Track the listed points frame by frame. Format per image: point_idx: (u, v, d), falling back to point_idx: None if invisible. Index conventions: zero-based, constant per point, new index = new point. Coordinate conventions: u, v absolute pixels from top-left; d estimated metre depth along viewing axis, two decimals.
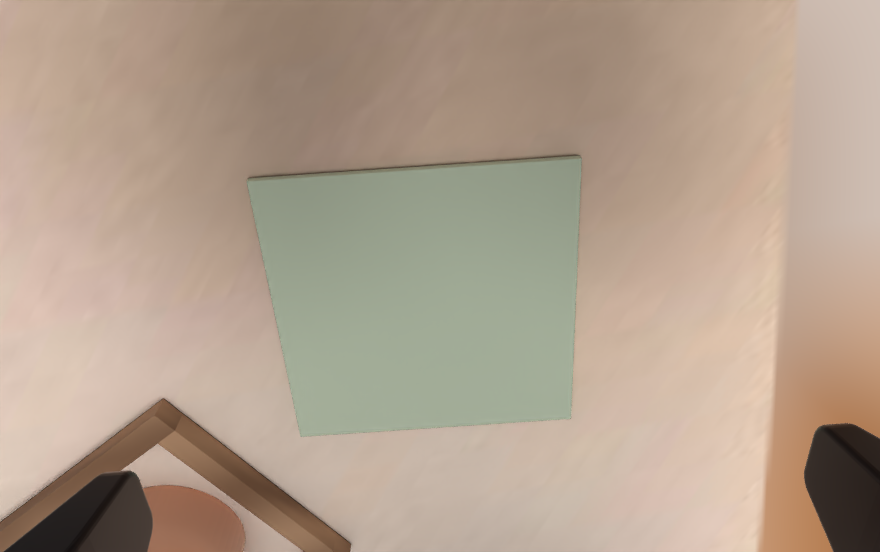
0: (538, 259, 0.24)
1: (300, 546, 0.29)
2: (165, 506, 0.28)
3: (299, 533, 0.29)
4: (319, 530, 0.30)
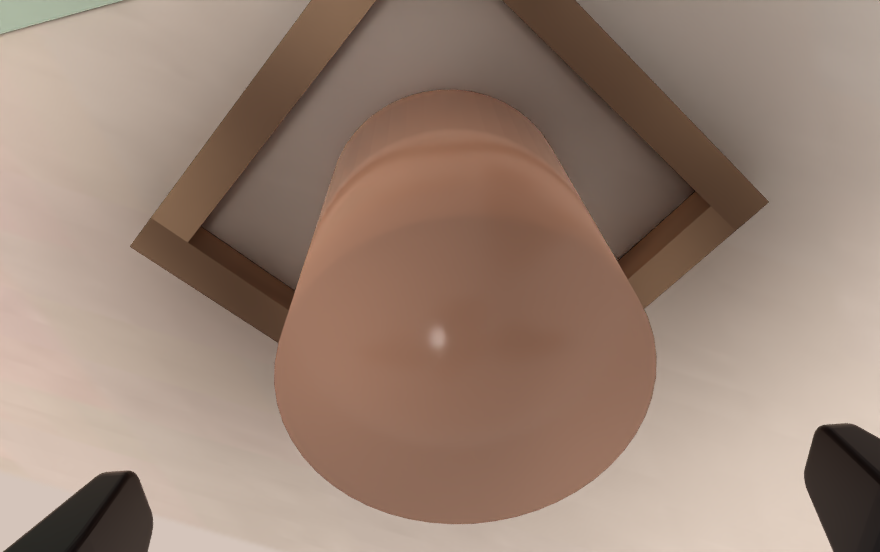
0: None
1: None
2: None
3: None
4: None
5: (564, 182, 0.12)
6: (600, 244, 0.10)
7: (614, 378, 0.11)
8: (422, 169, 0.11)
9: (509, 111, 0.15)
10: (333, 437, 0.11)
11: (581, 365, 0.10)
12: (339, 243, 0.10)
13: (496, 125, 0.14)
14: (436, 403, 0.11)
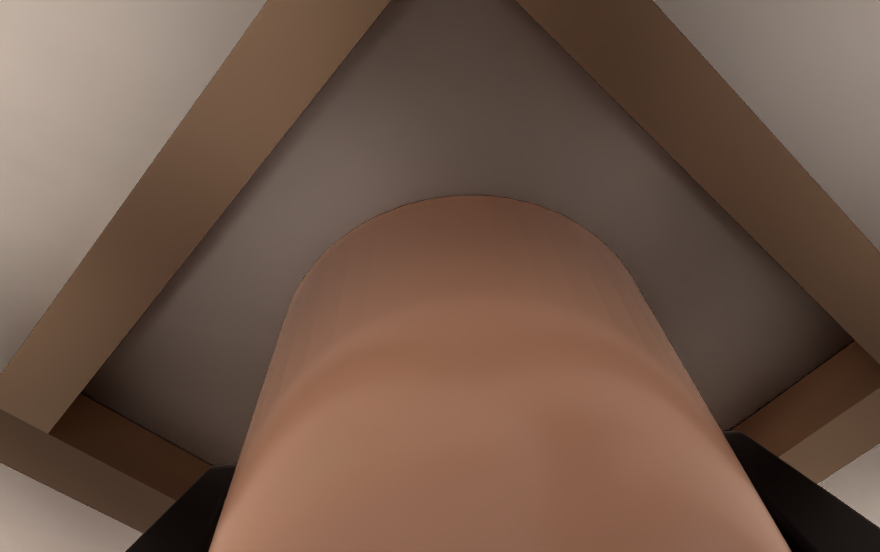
0: None
1: (367, 12, 0.07)
2: None
3: (296, 19, 0.07)
4: None
5: (714, 441, 0.06)
6: None
7: None
8: (432, 489, 0.05)
9: (574, 238, 0.09)
10: None
11: None
12: None
13: (565, 295, 0.07)
14: None
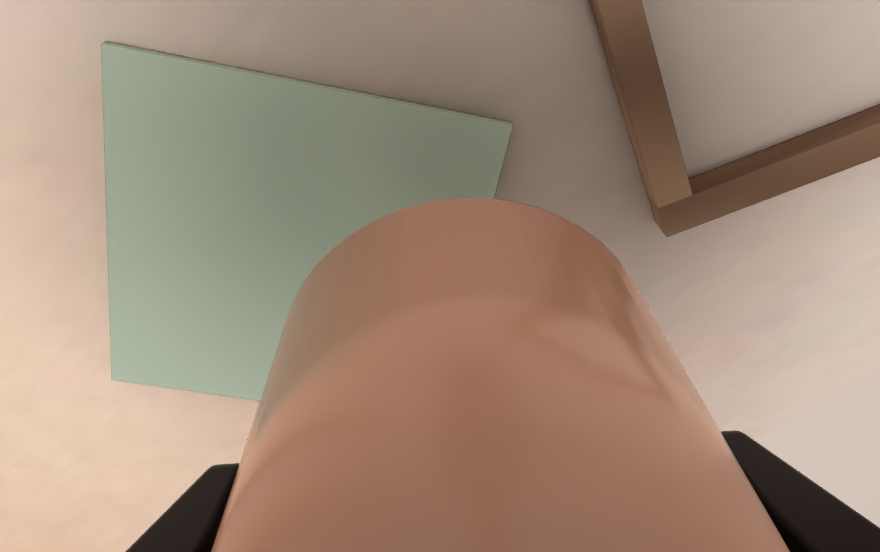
0: (154, 295, 0.21)
1: None
2: None
3: None
4: None
5: (714, 444, 0.06)
6: None
7: None
8: (434, 492, 0.05)
9: (574, 240, 0.09)
10: None
11: None
12: None
13: (566, 298, 0.07)
14: None
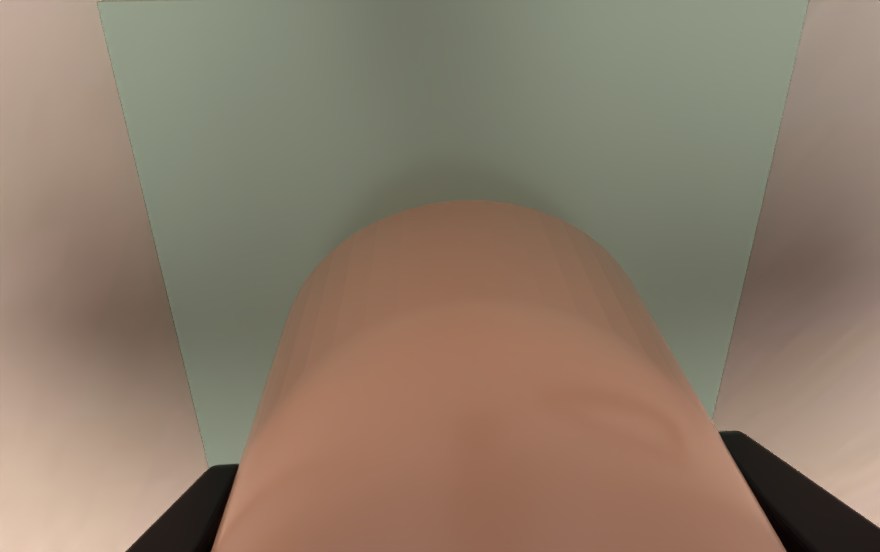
0: (257, 388, 0.14)
1: None
2: None
3: None
4: None
5: (713, 448, 0.06)
6: None
7: None
8: (433, 497, 0.05)
9: (574, 243, 0.09)
10: None
11: None
12: None
13: (565, 301, 0.07)
14: None
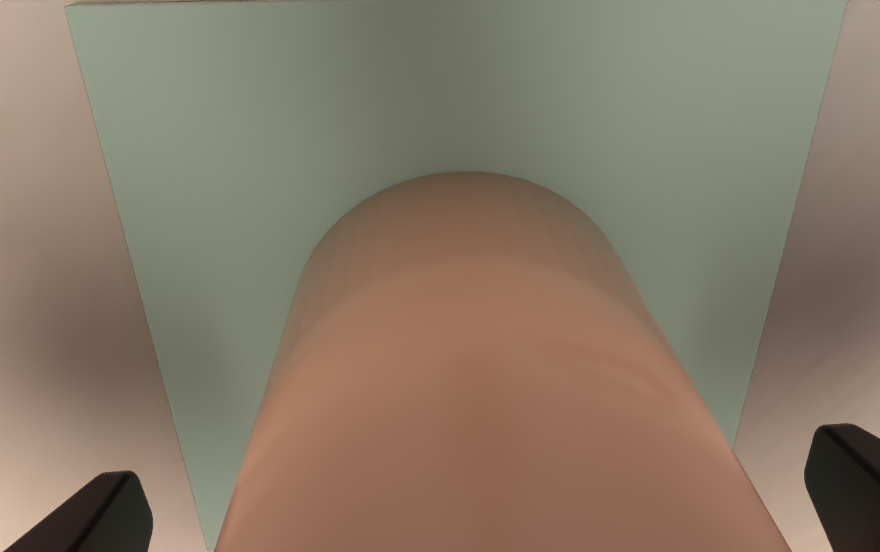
0: (246, 419, 0.13)
1: None
2: None
3: None
4: None
5: (675, 371, 0.07)
6: None
7: None
8: (435, 395, 0.06)
9: (559, 208, 0.10)
10: None
11: None
12: None
13: (549, 252, 0.08)
14: None
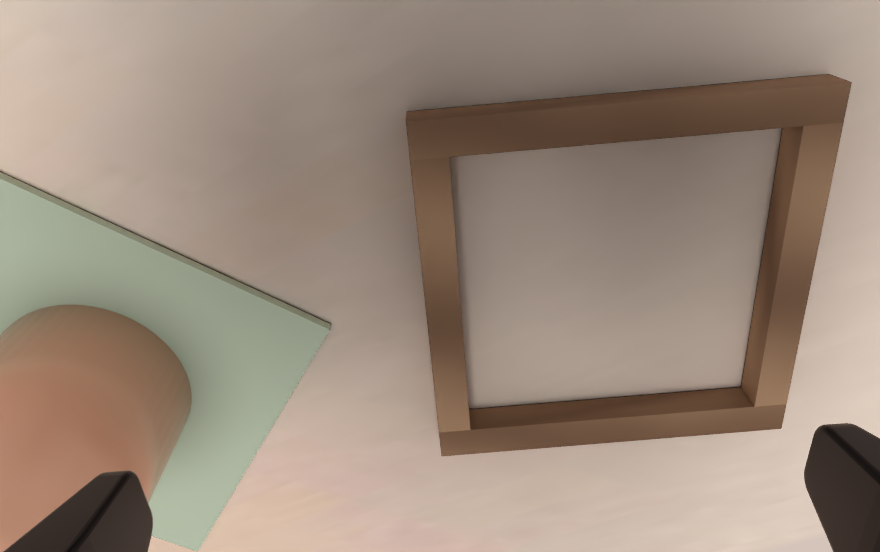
0: None
1: (448, 200, 0.18)
2: None
3: (429, 222, 0.18)
4: None
5: (127, 461, 0.17)
6: None
7: None
8: (3, 433, 0.15)
9: (158, 358, 0.20)
10: None
11: None
12: None
13: (118, 385, 0.18)
14: None
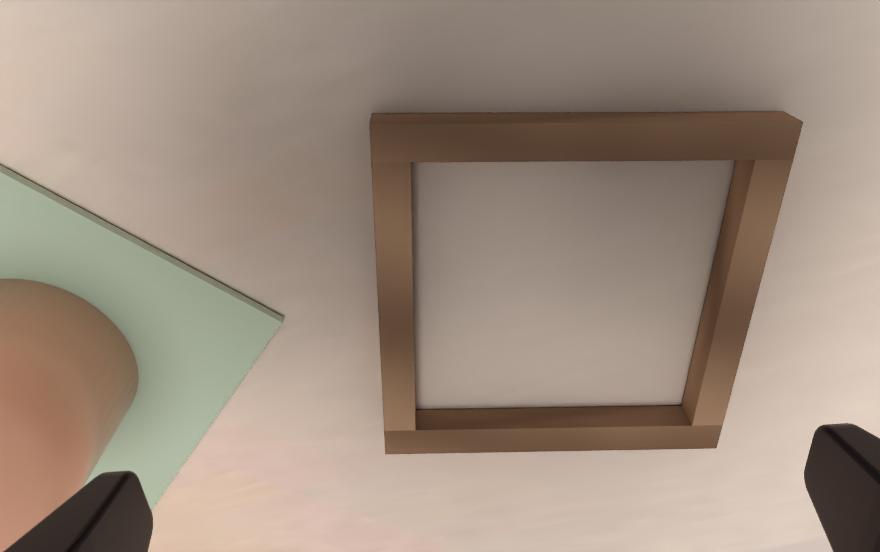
0: None
1: (406, 204, 0.18)
2: None
3: (387, 224, 0.18)
4: None
5: (64, 442, 0.17)
6: (15, 525, 0.15)
7: None
8: None
9: (106, 340, 0.20)
10: None
11: None
12: None
13: (61, 365, 0.18)
14: None
